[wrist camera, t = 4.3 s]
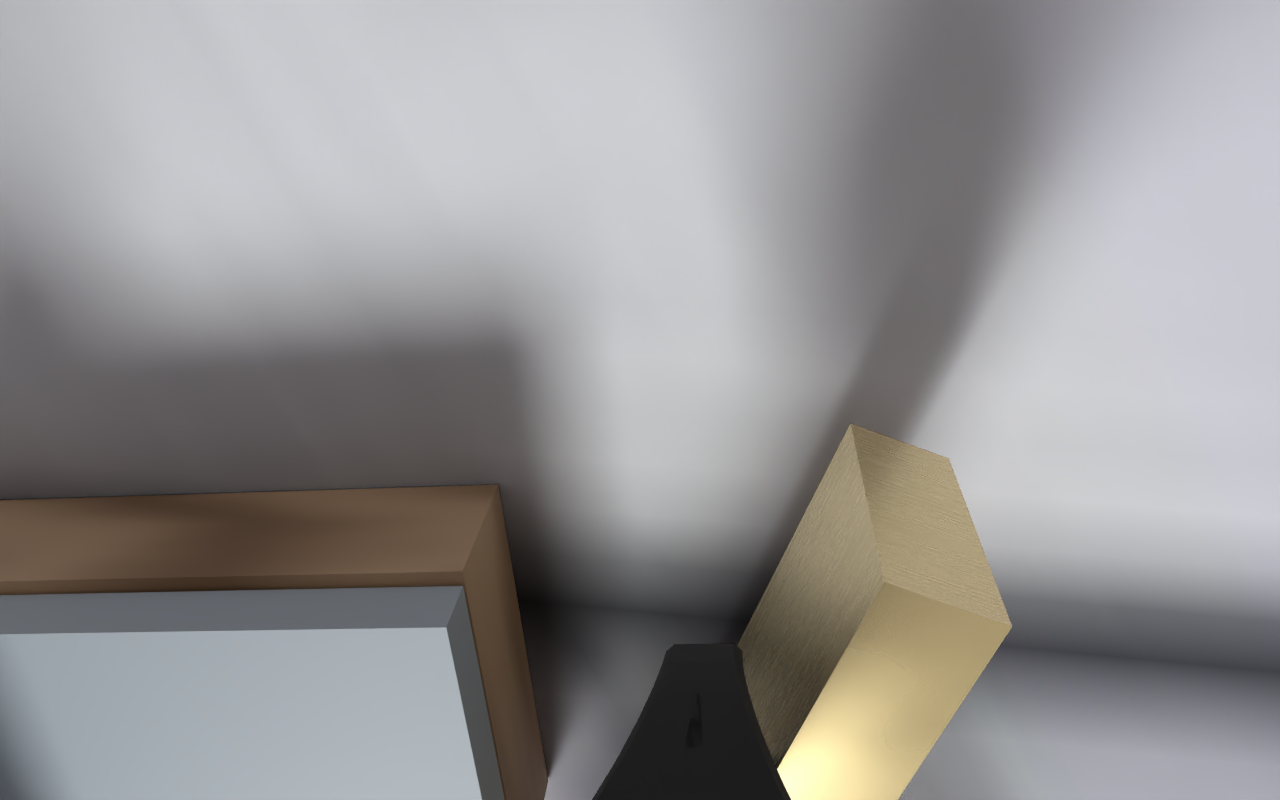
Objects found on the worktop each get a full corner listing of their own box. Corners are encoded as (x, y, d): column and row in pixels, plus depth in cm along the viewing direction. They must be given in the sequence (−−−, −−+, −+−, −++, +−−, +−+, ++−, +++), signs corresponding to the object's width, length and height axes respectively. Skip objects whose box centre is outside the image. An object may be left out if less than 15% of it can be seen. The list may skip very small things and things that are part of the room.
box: (92, 779, 22) (16, 882, 20) (-26, 500, 19) (-132, 584, 17) (548, 780, 21) (524, 890, 19) (497, 484, 18) (463, 571, 16)
